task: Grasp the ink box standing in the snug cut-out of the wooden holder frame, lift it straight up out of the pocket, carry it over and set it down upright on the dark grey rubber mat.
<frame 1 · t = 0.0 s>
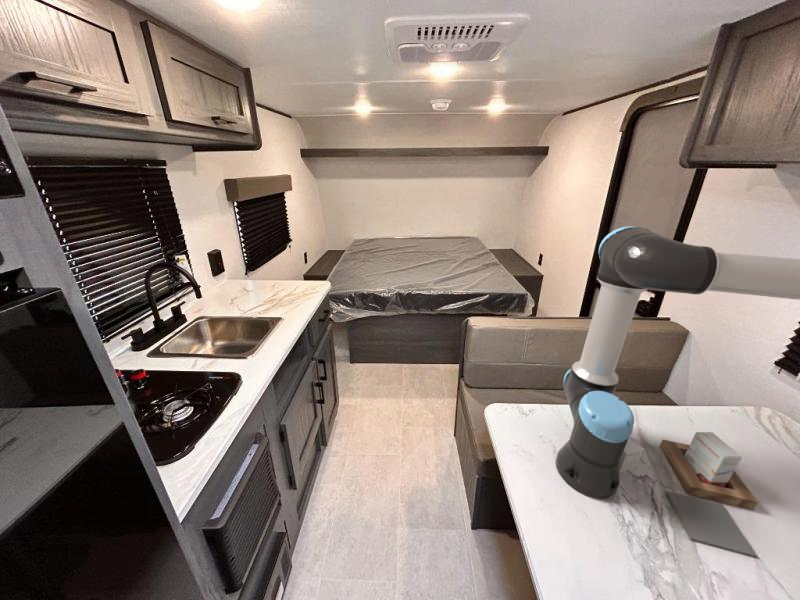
wooden holder frame: (701, 475, 88), on the table
mat: (706, 522, 76), on the table
product box: (617, 462, 91), on the table
ink box: (701, 476, 88), resting in wooden holder frame
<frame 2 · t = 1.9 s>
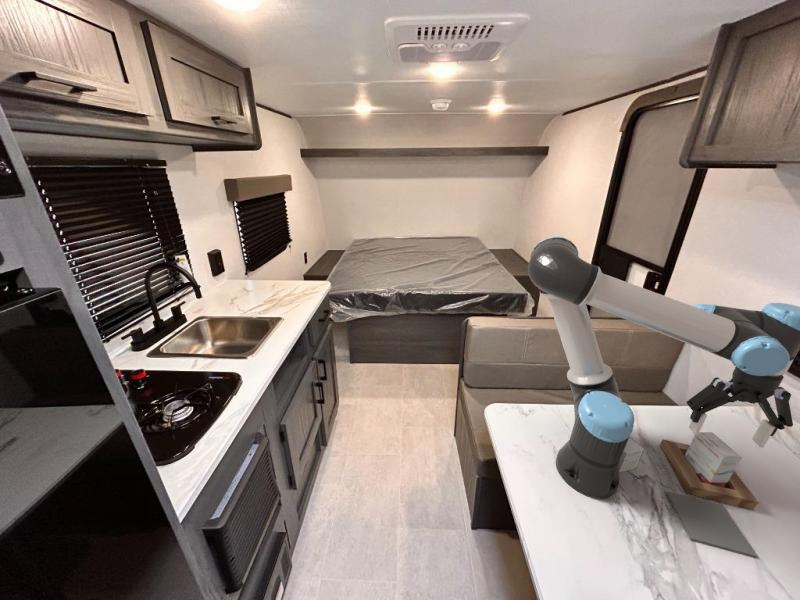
hand: (724, 437, 82), 14 cm above the table, fingers open, 13 cm apart
nothing on the table moved.
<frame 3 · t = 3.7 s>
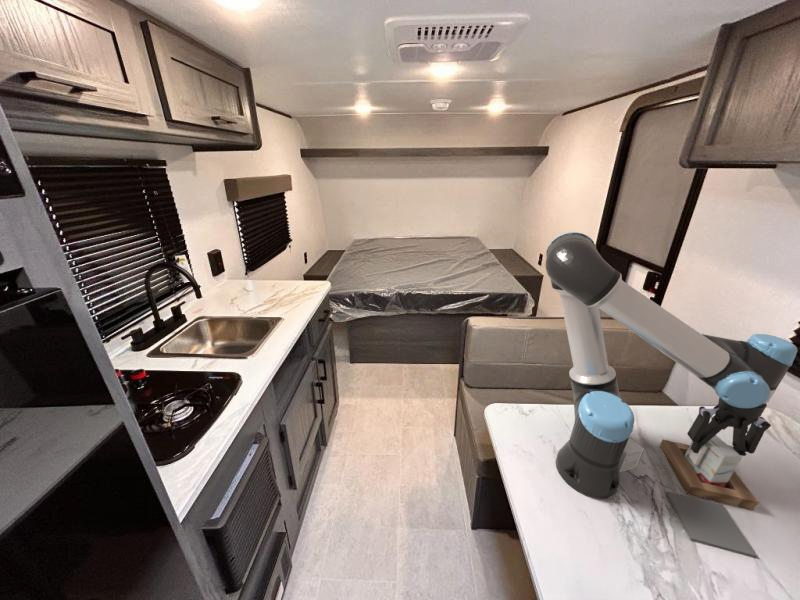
hand: (707, 463, 86), 4 cm above the table, fingers closed on ink box, 6 cm apart
ink box: (701, 476, 88), resting in wooden holder frame, touching gripper
everything else where it was.
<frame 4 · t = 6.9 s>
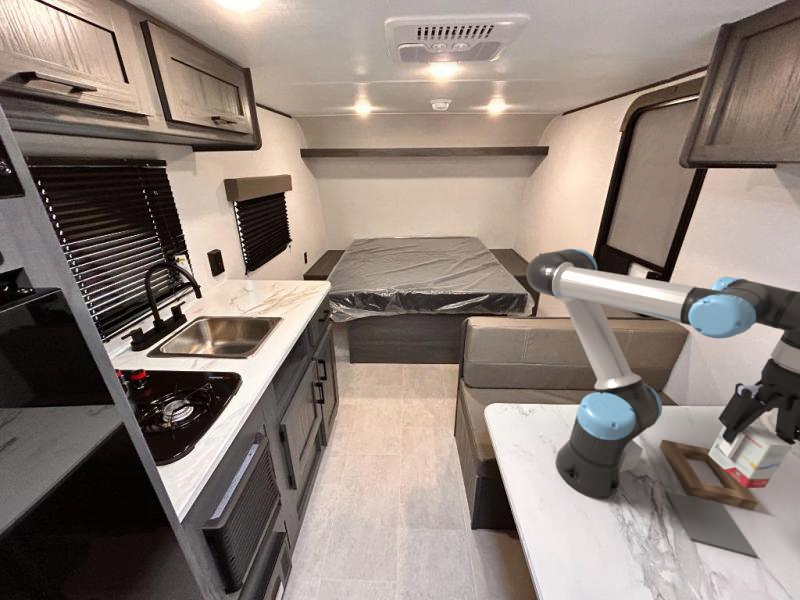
hand: (743, 455, 69), 21 cm above the table, fingers closed on ink box, 6 cm apart
ink box: (734, 471, 70), point 16 cm above the table, touching gripper
everything else where it was.
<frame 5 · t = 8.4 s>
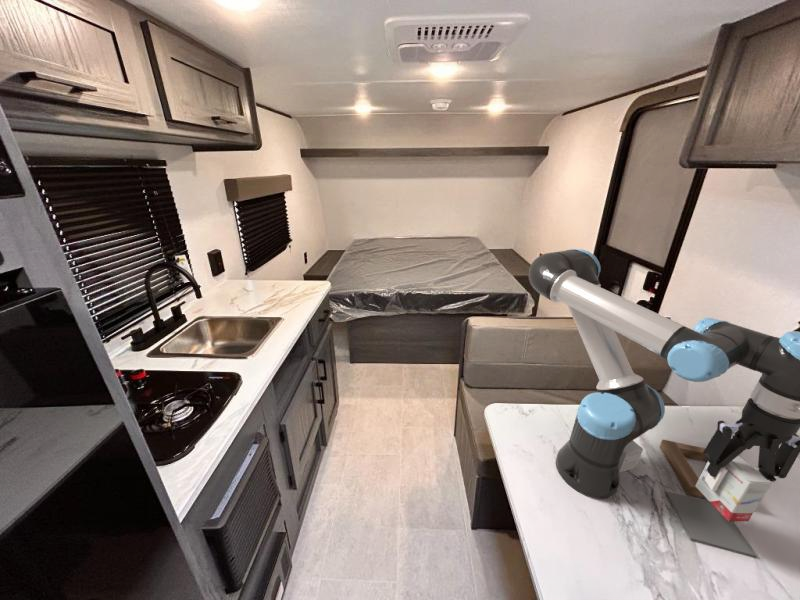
hand: (727, 489, 71), 11 cm above the table, fingers closed on ink box, 6 cm apart
ink box: (719, 503, 73), point 7 cm above the table, touching gripper
everything else where it was.
when the fingers open (6 cm above the table, at t = 9.9 s): ink box drops 1 cm, resting on mat.
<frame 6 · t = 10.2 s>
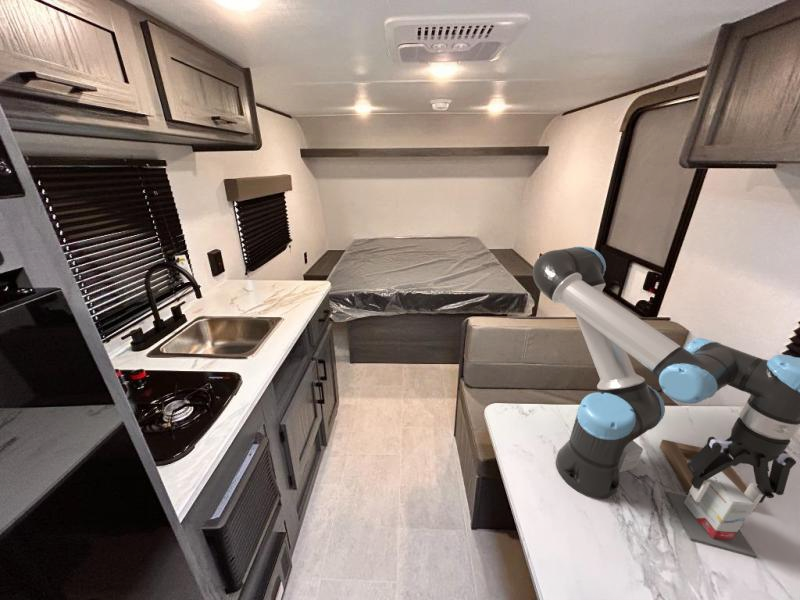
hand: (718, 502, 73), 7 cm above the table, fingers open, 9 cm apart
ink box: (706, 520, 76), resting on mat
everything else where it was.
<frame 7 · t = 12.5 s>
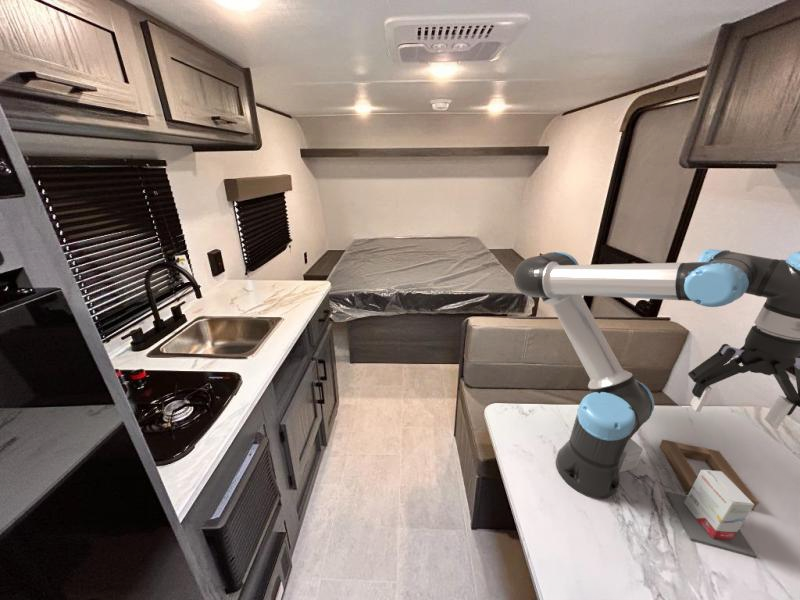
hand: (731, 415, 71), 27 cm above the table, fingers open, 13 cm apart
nothing on the table moved.
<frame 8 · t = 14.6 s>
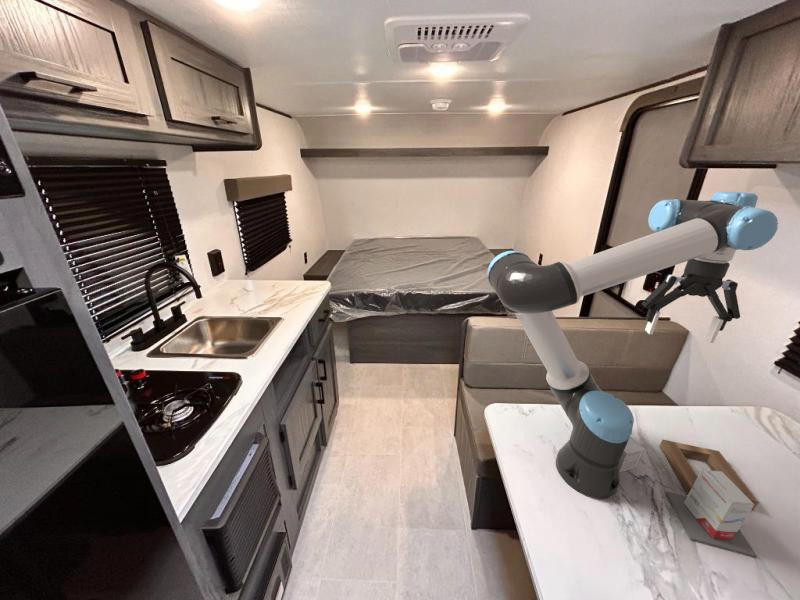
hand: (677, 336, 85), 37 cm above the table, fingers open, 13 cm apart
nothing on the table moved.
at the end: ink box inside the target area on the mat (0.2 cm from its centre), point 0.4 cm above the mat's base; ink box tilted 0°; the gripper is holding nothing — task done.
